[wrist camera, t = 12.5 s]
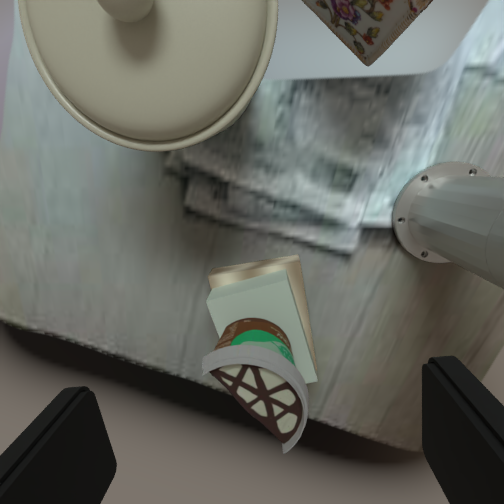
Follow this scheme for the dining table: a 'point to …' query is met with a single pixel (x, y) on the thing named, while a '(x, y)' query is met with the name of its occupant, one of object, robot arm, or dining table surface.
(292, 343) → the upper slab
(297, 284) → the lower slab
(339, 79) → the dining table surface
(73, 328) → the dining table surface
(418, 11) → the decorative jar
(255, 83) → the canister
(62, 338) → the dining table surface
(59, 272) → the dining table surface
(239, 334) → the food container
